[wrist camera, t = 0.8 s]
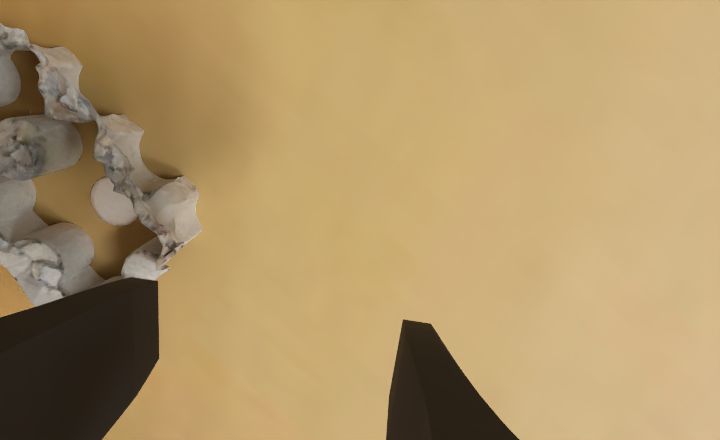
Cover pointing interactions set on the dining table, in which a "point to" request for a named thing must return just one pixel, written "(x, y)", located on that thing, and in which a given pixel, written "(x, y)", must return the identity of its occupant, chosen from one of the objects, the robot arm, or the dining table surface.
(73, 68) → the egg carton
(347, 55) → the dining table surface
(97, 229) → the dining table surface
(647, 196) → the dining table surface
